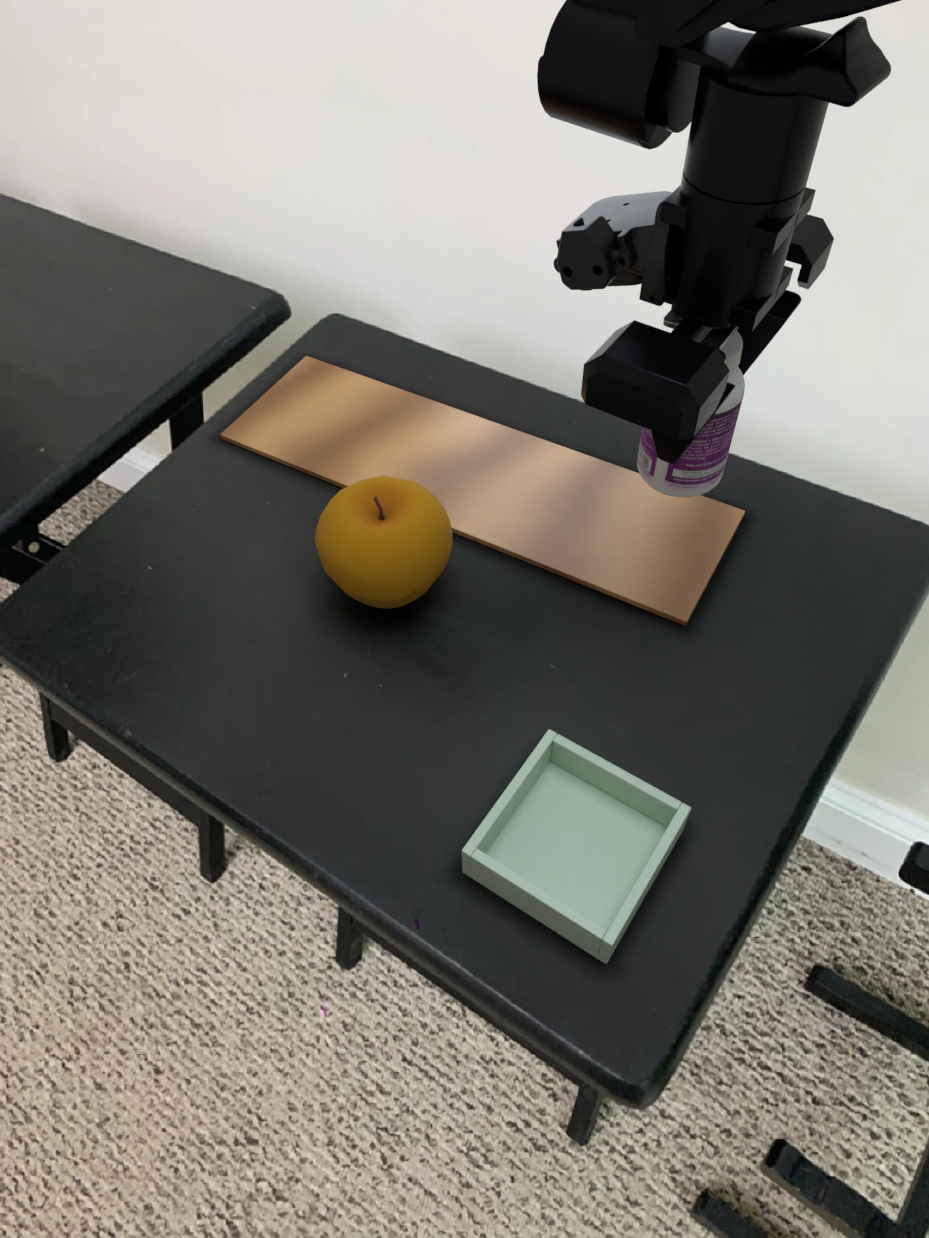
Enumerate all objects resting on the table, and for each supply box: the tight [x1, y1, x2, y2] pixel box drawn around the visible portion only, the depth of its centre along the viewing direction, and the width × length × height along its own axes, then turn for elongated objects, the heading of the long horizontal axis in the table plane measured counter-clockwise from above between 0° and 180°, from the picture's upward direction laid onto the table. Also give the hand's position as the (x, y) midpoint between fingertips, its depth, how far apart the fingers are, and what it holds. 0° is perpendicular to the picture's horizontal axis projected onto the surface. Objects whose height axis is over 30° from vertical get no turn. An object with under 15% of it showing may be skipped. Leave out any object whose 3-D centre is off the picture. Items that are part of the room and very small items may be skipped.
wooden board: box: [219, 355, 746, 627], centre depth 72 cm, size 40×12×1 cm, turn 60°
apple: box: [314, 476, 454, 610], centre depth 61 cm, size 9×9×9 cm
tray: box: [461, 728, 692, 965], centre depth 52 cm, size 9×9×3 cm
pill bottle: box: [636, 329, 746, 497], centre depth 54 cm, size 5×5×10 cm
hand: (687, 433), depth 56 cm, fingers closed on pill bottle, 5 cm apart
